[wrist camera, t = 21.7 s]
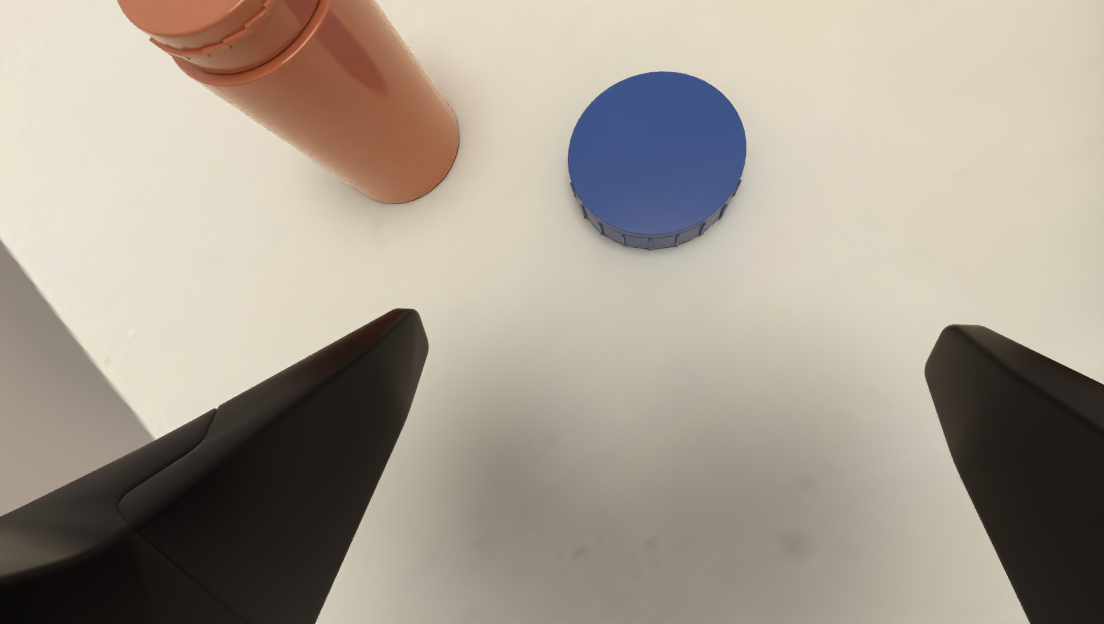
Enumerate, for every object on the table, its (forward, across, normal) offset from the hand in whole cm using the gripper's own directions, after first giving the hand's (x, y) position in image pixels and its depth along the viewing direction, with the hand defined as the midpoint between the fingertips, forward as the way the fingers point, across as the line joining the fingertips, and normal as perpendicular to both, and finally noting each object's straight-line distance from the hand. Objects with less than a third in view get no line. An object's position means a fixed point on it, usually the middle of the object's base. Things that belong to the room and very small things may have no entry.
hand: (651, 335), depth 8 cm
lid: (+12, 0, +1) cm, 12 cm away
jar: (+14, +12, 0) cm, 19 cm away
